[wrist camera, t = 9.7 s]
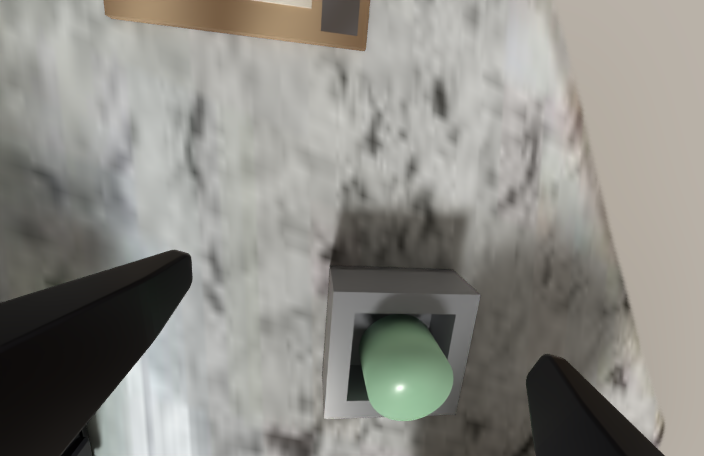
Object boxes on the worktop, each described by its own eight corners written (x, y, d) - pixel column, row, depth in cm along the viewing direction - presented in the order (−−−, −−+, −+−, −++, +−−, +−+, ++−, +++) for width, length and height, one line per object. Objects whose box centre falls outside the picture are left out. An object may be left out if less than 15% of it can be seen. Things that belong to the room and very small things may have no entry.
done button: (355, 379, 19) (363, 422, 16) (362, 313, 18) (371, 347, 15) (426, 378, 19) (445, 419, 17) (437, 314, 18) (460, 346, 15)
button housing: (322, 375, 21) (324, 419, 18) (329, 265, 19) (333, 291, 16) (434, 373, 23) (455, 414, 19) (453, 269, 20) (480, 294, 17)
